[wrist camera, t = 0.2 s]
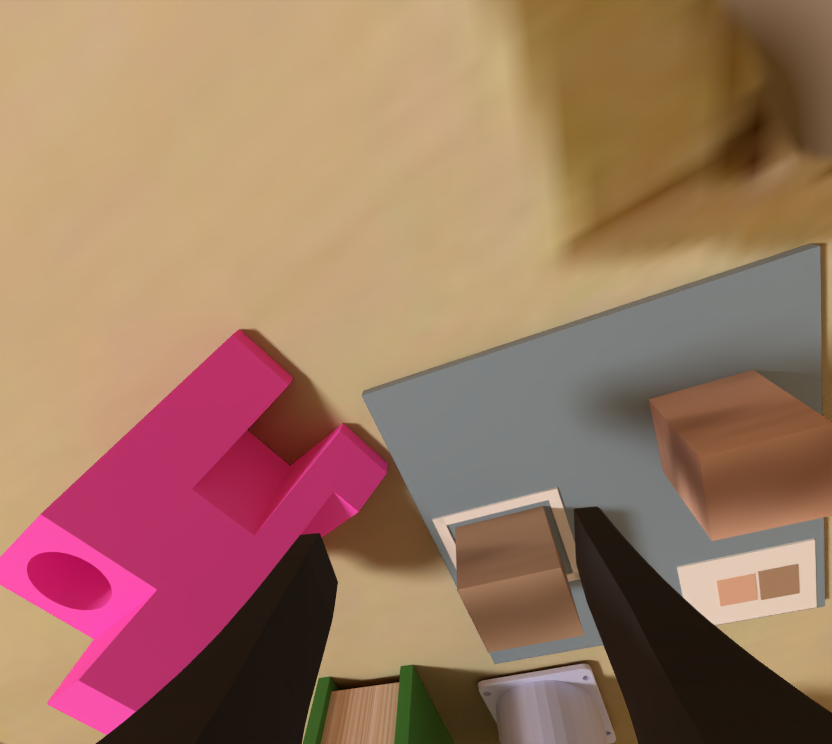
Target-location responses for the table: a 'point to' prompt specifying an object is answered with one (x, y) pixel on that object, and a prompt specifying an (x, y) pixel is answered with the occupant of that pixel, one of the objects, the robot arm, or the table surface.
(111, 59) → the table surface
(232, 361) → the bracket
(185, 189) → the table surface
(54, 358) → the table surface
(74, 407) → the table surface
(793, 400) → the terracotta block
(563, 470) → the mat
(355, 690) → the hardback book
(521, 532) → the walnut block
